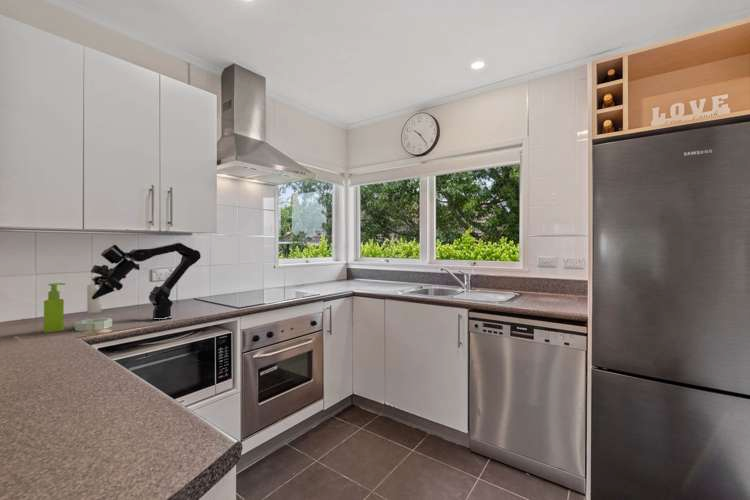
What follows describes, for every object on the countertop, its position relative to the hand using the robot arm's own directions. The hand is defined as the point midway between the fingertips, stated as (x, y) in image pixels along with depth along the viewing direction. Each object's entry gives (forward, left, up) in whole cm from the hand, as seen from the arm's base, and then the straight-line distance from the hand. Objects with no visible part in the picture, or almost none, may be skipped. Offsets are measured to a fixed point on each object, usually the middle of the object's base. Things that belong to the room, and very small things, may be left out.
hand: (90, 298), depth 145 cm
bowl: (-1, -1, -13) cm, 13 cm away
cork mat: (+1, +10, -13) cm, 17 cm away
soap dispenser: (+10, -8, -13) cm, 18 cm away
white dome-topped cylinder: (-1, 0, -6) cm, 6 cm away
